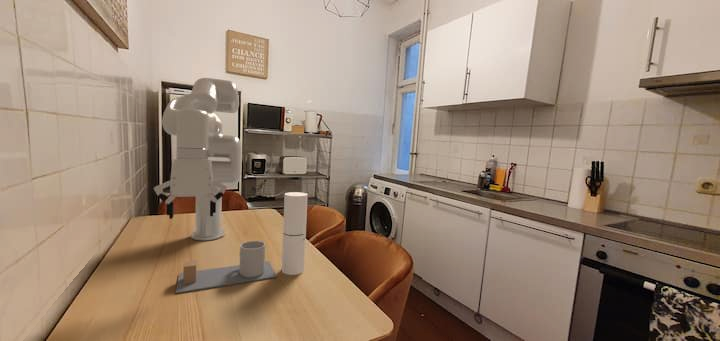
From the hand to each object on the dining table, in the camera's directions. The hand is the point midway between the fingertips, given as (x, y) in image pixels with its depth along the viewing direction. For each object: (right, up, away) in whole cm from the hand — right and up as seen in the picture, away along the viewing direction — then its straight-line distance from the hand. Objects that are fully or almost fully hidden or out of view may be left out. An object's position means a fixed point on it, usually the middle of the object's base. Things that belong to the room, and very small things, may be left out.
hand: (192, 216), depth 80 cm
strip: (+7, -19, +7) cm, 22 cm away
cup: (+12, -19, +10) cm, 24 cm away
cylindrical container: (+25, -20, +14) cm, 35 cm away
